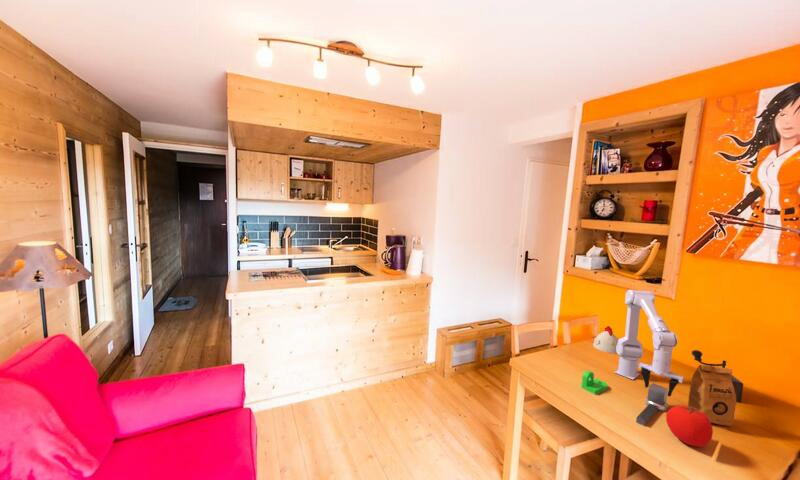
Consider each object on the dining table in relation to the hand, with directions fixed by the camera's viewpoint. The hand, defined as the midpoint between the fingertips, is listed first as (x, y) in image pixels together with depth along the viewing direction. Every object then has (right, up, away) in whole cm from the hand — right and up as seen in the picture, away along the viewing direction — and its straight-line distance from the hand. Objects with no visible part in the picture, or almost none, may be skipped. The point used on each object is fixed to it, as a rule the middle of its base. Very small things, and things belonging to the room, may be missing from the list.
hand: (657, 391), depth 135 cm
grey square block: (0, -4, 0) cm, 4 cm away
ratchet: (-7, -7, -4) cm, 11 cm away
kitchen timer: (+14, -3, +56) cm, 57 cm away
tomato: (-6, -9, -20) cm, 23 cm away
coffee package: (+15, -8, -7) cm, 18 cm away
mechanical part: (-18, -5, +13) cm, 23 cm away
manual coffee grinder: (+35, -7, +13) cm, 39 cm away
